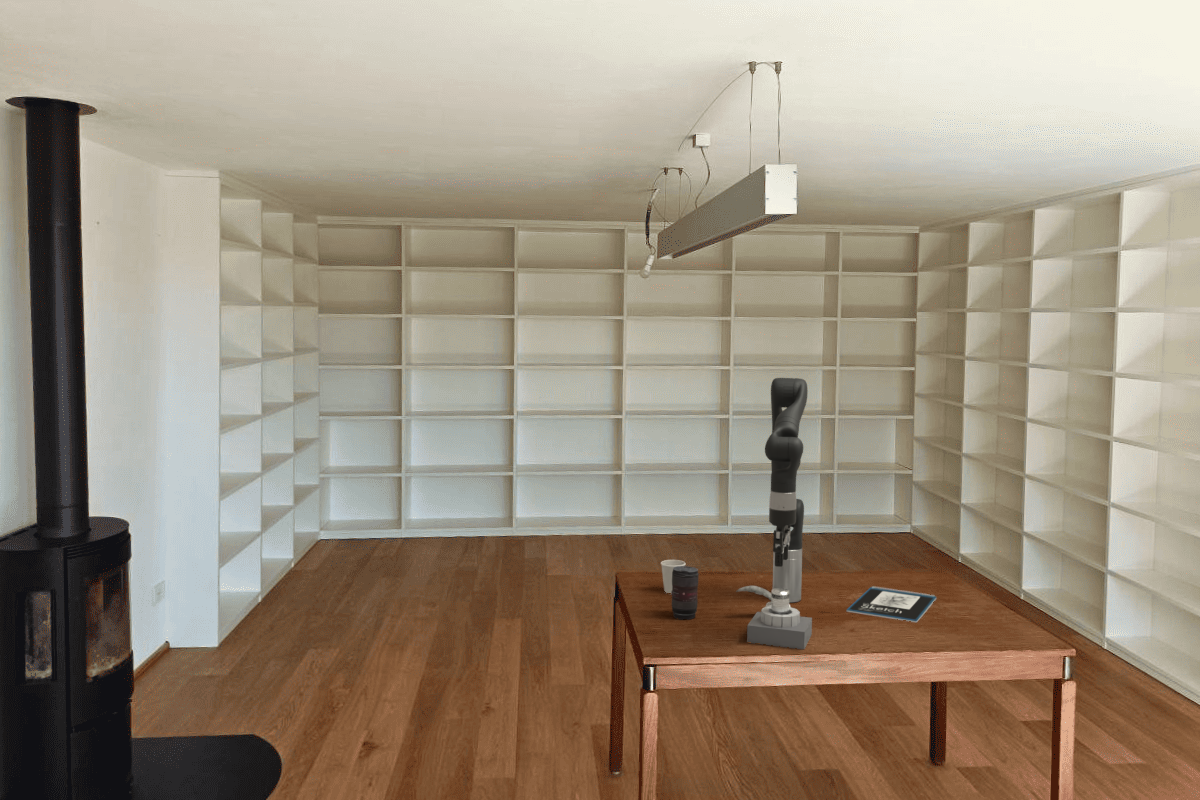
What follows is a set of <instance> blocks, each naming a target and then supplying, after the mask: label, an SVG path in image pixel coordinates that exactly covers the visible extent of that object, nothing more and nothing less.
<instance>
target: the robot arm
mask: <svg viewBox="0 0 1200 800" xmlns="http://www.w3.org/2000/svg"><path fill="white" fill-rule="evenodd" d="M808 392H809V391H808V384H807V381H806V380H805V379H803V378H798V377H796V378H795V377H775V378H773V380H772V382H771V385H770V406H771V407H770V409H771V434H770V435H769V437H768V438H767V440H766V443H765V446H764V454H765V457H767V459H768V460H770V462H771V465H770V466H771V467H770V468H771V475H770V493H769V506H768V507H769V508H768V510H769V511H768V513H769V514H768V521H769V523H770V524H771V525H772V526H774V527H776V528H775V529H774V530H773V538H772V539H773V540H772V541H773V543H772V552H773V560H772V564H773V565H772V566H773V567H772V589H775V588H783V589H787V590H789V603H798V602H800V601H801V600H802V578H803V577H802V575H803V574H802V571H803V570H802V569H803V568H802V567H803V530H804V529H803V527H804V517H805V506H804V502H803V499H800V498H797V493H796V491H797V475H798V474H797V473H798V470H799V468H800V466H801V459H802V456H803V454H804V443H803V441H802V440H801V438H799V432H800V422H801V419H802V417H803V415H804V412H805V409H806V405H807V401H808ZM783 408H785V409H784V410H783ZM791 528H792V529H791Z"/></svg>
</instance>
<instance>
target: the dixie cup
mask: <svg viewBox="0 0 1200 800" xmlns="http://www.w3.org/2000/svg"><path fill="white" fill-rule="evenodd" d="M660 565H661V573H662V574H661V575H662V583H663V590H664V591H665V592H666V593H665V592H664V593H665V594H667V593H671V592H672V571H673V568H674V567H677V566H687V565H686V562H685V561H683V560H679V559H665V560H662V561H661V562H660Z"/></svg>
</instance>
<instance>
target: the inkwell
mask: <svg viewBox="0 0 1200 800" xmlns="http://www.w3.org/2000/svg"><path fill="white" fill-rule="evenodd" d="M735 592H736V593H738V592H750V593H754V594H756V595H760V596H763V597H765V598H768V600H769V601H768V602H766V604H765V606H764V607H768V606H771V592H770V591H769V590H767V589H765V588H763V587H762V586H761V587H760V586H757V585H747V586H743V587H740V588H738V589H737V590H736V591H735ZM789 607H791V604H790V603H789Z"/></svg>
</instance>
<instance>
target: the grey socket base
mask: <svg viewBox="0 0 1200 800" xmlns="http://www.w3.org/2000/svg"><path fill="white" fill-rule="evenodd" d="M800 613H801V612H800V611H799V610H798V609H797V608H795V607H791V606H790V607H789V614H788V615H779V614H773V613H771V606H768V607H765V606H764V607H762V609H760V611H756V612H755V614H754V616H753V617H752V618H751V620H750V621H749V623H748V624H747V630H746V631H747V633H746V636H747V638H746V643H747V642H751V643H750V644H755V643H760V644H759V645H763V644H766V645H765V646H771V645H773V647H779V646H780V648H787V647H789V648H788V649H795V648H797V649H798V650H803V649H804V650H805V649H806V646H807V645H808V643H809V640H810V639H811V637H812V635H813V634H812V633H813V632H812V631H813V617H807V616H801V614H800ZM797 649H796V650H797Z"/></svg>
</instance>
